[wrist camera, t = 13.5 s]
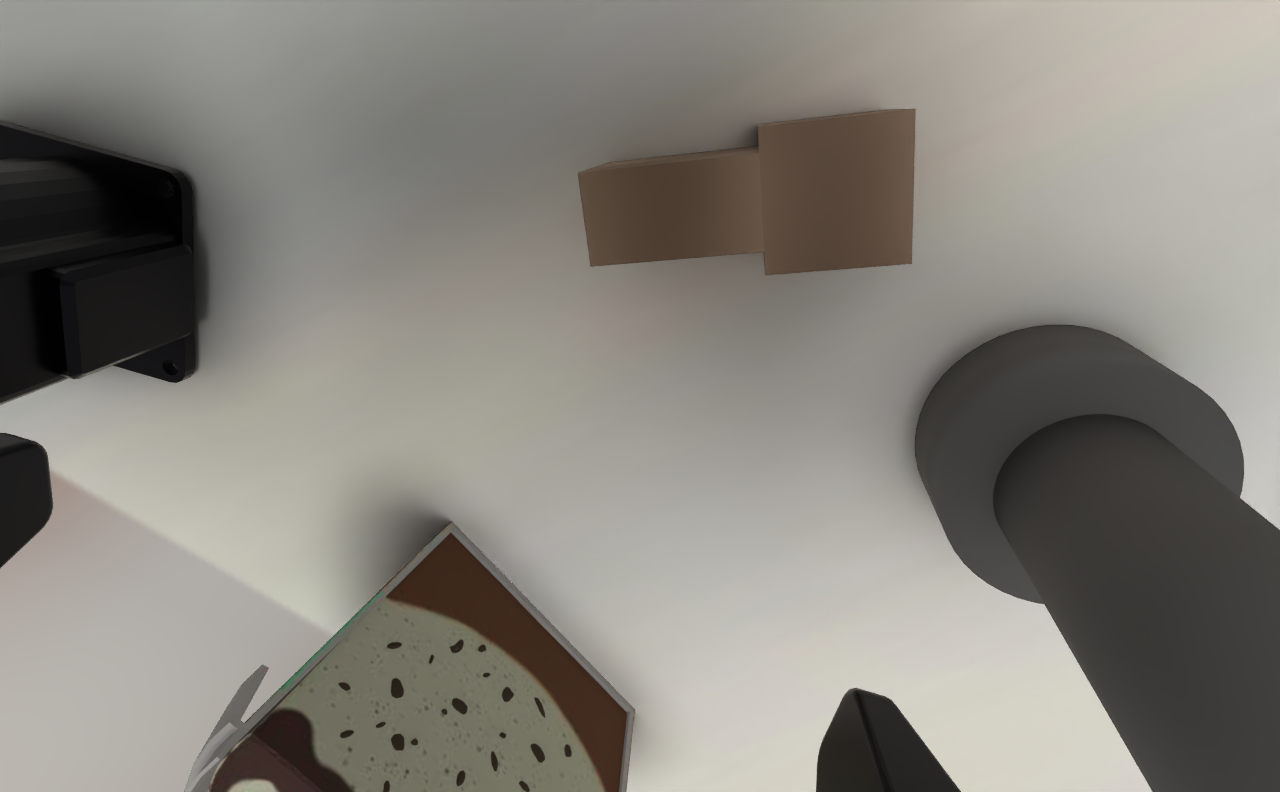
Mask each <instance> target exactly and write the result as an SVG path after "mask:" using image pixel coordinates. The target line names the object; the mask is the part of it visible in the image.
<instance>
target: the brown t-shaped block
mask: <svg viewBox="0 0 1280 792" xmlns="http://www.w3.org/2000/svg"><path fill="white" fill-rule="evenodd" d="M757 130H758V146H754V147H745V148H736V149H727V150H718V151H709V152H699V153H690V154H681V155H672V156H663V157H654V158H645V159H636V160H627V161H618V162H609V163H606V164H603V165H600V166H597V167H594V168H591V169H588V170H585V171H582V172H579V173H578V178H579V185H580V192H581V200H582V207H583V215H584V222H585V229H586V237H587V244H588V251H589V259H590V266H603V265H615V264H627V263H639V262H651V261H663V260H674V259H686V258H698V257H710V256H722V255H734V254H746V253H757V252H764V266H765V275H774V274H787V273H800V272H812V271H825V270H838V269H851V268H863V267H876V266H889V265H901V264H912V229H913V188H914V147H915V109H893V110H878V111H870V112H861V113H852V114H844V115H835V116H827V117H818V118H809V119H801V120H792V121H783V122H775V123H766V124H758V125H757Z"/></svg>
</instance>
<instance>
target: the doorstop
mask: <svg viewBox="0 0 1280 792" xmlns="http://www.w3.org/2000/svg"><path fill="white" fill-rule="evenodd" d="M915 456H916V461H917V466H918V470H919V473H920V476H921V478H922V481H923V483H924V486H925V488H926V490H927V492H928V495H929V497H930V499H931V501H932V504H933V506H934V508H935V511H936V513H937V515H938V517H939V520H940V522H941V524H942V527H943V529H944V531H945V533H946V536H947V538H948V540H949V542H950V544H951V545H952V547H953V549H954V551H955V552H956V554H957V555H958V556H959V557H960V559H961V560H962V561H963V563H964V564H965V565H966V566H967V567H968V568H969V569H970V570H971V571H972V572H973V573H974V574H976V575H977V576H978V577H980V578H981V579H982V580H984V581H985V582H986V583H988V584H990V585H991V586H993V587H995V588H997V589H999V590H1000V591H1002V592H1005V593H1007V594H1010V595H1012V596H1015V597H1017V598H1020V599H1024V600H1027V601H1031V602H1035V603H1041V604H1045V606H1046V608H1047V609H1048V611H1049V613H1050V615H1051V616H1052V618H1053V620H1054V622H1055V623H1056V625H1057V627H1058V628H1059V630H1060V632H1061V634H1062V635H1063V637H1064V639H1065V641H1066V642H1067V644H1068V646H1069V648H1070V649H1071V651H1072V653H1073V654H1074V656H1075V658H1076V660H1077V661H1078V663H1079V665H1080V667H1081V668H1082V670H1083V672H1084V674H1085V675H1086V677H1087V679H1088V680H1089V682H1090V684H1091V686H1092V687H1093V689H1094V691H1095V693H1096V694H1097V696H1098V698H1099V700H1100V701H1101V703H1102V705H1103V706H1104V708H1105V710H1106V712H1107V713H1108V715H1109V717H1110V719H1111V720H1112V722H1113V724H1114V725H1115V727H1116V729H1117V731H1118V732H1119V734H1120V736H1121V738H1122V739H1123V741H1124V743H1125V745H1126V746H1127V748H1128V750H1129V751H1130V753H1131V755H1132V757H1133V758H1134V760H1135V762H1136V764H1137V765H1138V767H1139V769H1140V771H1141V772H1142V774H1143V776H1144V777H1145V779H1146V781H1147V783H1148V784H1149V786H1150V788H1151V790H1152V791H1153V792H1280V530H1279V529H1278V528H1276V527H1275V526H1274V525H1273V524H1271V523H1270V522H1269V521H1268V520H1267V519H1265V518H1264V517H1263V516H1262V515H1260V514H1259V513H1258V512H1257V511H1255V510H1254V509H1253V508H1252V507H1250V506H1249V505H1248V504H1247V503H1245V502H1244V501H1243V500H1242V499H1240V495H1241V492H1242V485H1243V478H1244V459H1243V453H1242V449H1241V444H1240V440H1239V438H1238V436H1237V433H1236V431H1235V428H1234V426H1233V424H1232V423H1231V421H1230V420H1229V418H1228V417H1227V415H1226V413H1225V412H1224V411H1223V410H1222V409H1221V407H1220V406H1219V405H1218V404H1217V403H1216V402H1215V401H1214V400H1213V399H1212V398H1211V397H1210V396H1208V395H1207V394H1206V393H1205V392H1203V391H1202V390H1201V389H1200V388H1198V387H1197V386H1195V385H1194V384H1192V383H1190V382H1189V381H1187V380H1186V379H1184V378H1182V377H1181V376H1179V375H1178V374H1176V373H1174V372H1173V371H1171V370H1170V369H1168V368H1167V367H1165V366H1163V365H1162V364H1160V363H1159V362H1157V361H1155V360H1154V359H1152V358H1151V357H1149V356H1147V355H1146V354H1144V353H1143V352H1141V351H1139V350H1138V349H1136V348H1135V347H1133V346H1132V345H1130V344H1128V343H1126V342H1125V341H1123V340H1121V339H1119V338H1118V337H1115V336H1113V335H1110V334H1108V333H1105V332H1103V331H1099V330H1095V329H1091V328H1087V327H1080V326H1072V325H1046V326H1037V327H1031V328H1026V329H1022V330H1017V331H1014V332H1011V333H1008V334H1005V335H1002V336H999V337H997V338H995V339H993V340H991V341H989V342H987V343H985V344H982V345H981V346H979V347H978V348H976V349H974V350H973V351H971V352H970V353H968V354H967V355H965V356H964V357H963V358H962V359H960V360H959V361H958V362H957V363H955V364H954V365H953V366H952V367H951V368H950V369H949V370H948V371H947V372H946V373H945V374H944V375H943V376H942V378H941V379H940V380H939V382H938V383H937V384H936V385H935V387H934V388H933V390H932V391H931V393H930V395H929V396H928V398H927V400H926V402H925V404H924V406H923V409H922V411H921V413H920V417H919V420H918V424H917V428H916V436H915Z"/></svg>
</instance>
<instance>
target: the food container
mask: <svg viewBox="0 0 1280 792" xmlns="http://www.w3.org/2000/svg"><path fill="white" fill-rule="evenodd" d="M268 669H269V668H268V667H266V666H264V665H261V666H260V667H259V668H258V669H257V670H256V671H255V672H254V673H253V675H251V676H250V677H249V678H248V679H247V680H246V681H245V682H244V683H243V684H242V685H241V687H240V688H239V690H238V691H237V693H236V694H235V696H234V697H233V699H232V700H231V702H230V704H229V705H228V706H227V708H226V710H225V711H224V713H223V715H222V716H221V718H220V720H219V722H218V723H217V725H216V727H215V729H214V730H213V732H212V733H211V735H210V737H209V739H208V740H207V742H206V744H205V746H204V747H203V749H202V751H201V752H200V754H199V756H198V757H197V759H196V761H195V763H194V764H193V767H192V770H191V773H190V775H189V778H188V781H187V784H186V787H185V790H184V792H626V789H627V779H628V770H629V760H630V751H631V741H632V732H633V722H634V713H635V709H634V708H633V707H632V706H631V705H630V704H629V703H628V702H627V701H626V700H625V699H624V698H623V697H622V696H621V695H620V694H619V693H618V692H617V691H616V690H615V689H614V688H613V687H612V686H611V685H610V684H609V683H608V682H607V681H606V680H605V679H604V678H603V676H602V675H601V674H600V673H599V672H598V671H597V670H596V669H595V668H594V667H593V666H592V665H591V664H590V663H589V662H588V661H587V660H586V659H585V658H584V657H583V656H582V655H581V654H580V653H579V652H578V651H577V650H576V649H575V648H574V647H573V646H572V645H571V644H570V643H569V642H568V641H567V640H566V638H565V637H564V636H563V635H562V634H561V633H560V632H559V631H558V630H557V629H556V628H555V627H554V626H553V625H552V624H551V623H550V622H549V621H548V620H547V619H546V618H545V617H544V616H543V615H542V614H541V613H540V612H539V611H538V610H537V609H536V608H535V607H534V606H533V605H532V604H531V603H530V601H529V600H528V599H527V598H526V597H525V596H524V595H523V594H522V593H521V592H520V591H519V590H518V589H517V588H516V587H515V586H514V585H513V584H512V583H511V582H510V581H509V580H508V579H507V578H506V577H505V576H504V575H503V574H502V573H501V572H500V571H499V570H498V569H497V568H496V567H495V566H494V564H493V563H492V562H491V561H490V560H489V559H488V558H487V557H486V556H485V555H484V554H483V553H482V552H481V551H480V550H479V549H478V548H477V547H476V546H475V545H474V544H473V543H472V542H471V541H470V540H469V539H468V538H467V537H466V536H465V535H464V534H463V533H462V532H461V531H460V530H459V529H458V527H457V526H456V525H455V524H454V523H453V522H451V523H450V524H448V525H447V526H446V527H445V528H444V529H443V530H442V531H441V532H440V533H439V534H438V535H437V536H436V537H434V538H433V539H432V540H431V541H430V542H429V543H428V544H427V545H426V546H425V547H424V548H423V549H422V550H421V551H420V552H419V553H418V554H417V555H416V556H415V557H414V558H413V559H412V560H411V561H410V562H409V563H408V564H407V565H406V566H405V567H404V568H403V569H402V570H401V571H399V572H398V573H397V574H396V575H395V576H394V577H393V578H392V579H391V580H390V581H389V582H388V583H387V584H386V585H385V586H384V587H383V588H382V589H381V590H380V591H379V592H378V593H377V594H376V595H375V596H374V597H373V598H372V599H371V600H370V601H369V602H368V603H367V604H366V605H365V606H364V607H363V608H362V609H361V610H360V611H359V612H357V613H356V614H355V615H354V616H353V617H352V618H351V619H350V620H349V621H348V622H347V623H346V624H345V625H344V626H343V627H342V628H341V629H340V630H339V631H338V632H337V633H336V634H335V635H334V636H333V637H332V638H331V639H330V640H329V641H328V642H327V643H326V644H325V645H324V646H323V647H322V648H321V649H320V650H319V651H318V652H317V653H315V654H314V655H313V656H312V657H311V658H310V659H309V660H308V661H307V662H306V663H305V664H304V665H303V666H302V667H301V668H300V669H299V670H298V671H297V672H296V673H295V674H294V675H293V676H292V677H291V678H290V679H289V680H288V681H287V682H286V683H285V684H284V685H283V686H282V687H281V688H280V689H279V690H278V691H277V692H276V693H275V694H273V695H272V697H270V699H268V700H267V701H266V702H265V703H264V704H263V705H262V706H261V707H260V708H259V709H258V710H257V711H256V712H255V713H254V714H253V715H252V716H251V717H250V718H249V719H248V720H247V721H246V722H245V723H243V722H242V721H241V718H242V716H243V714H244V712H245V710H246V709H247V707H248V705H249V703H250V701H251V699H252V698H253V696H254V694H255V692H256V691H257V689H258V687H259V685H260V683H261V682H262V680H263V678H264V676H265V674H266V672H267V671H268Z"/></svg>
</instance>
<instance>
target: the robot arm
mask: <svg viewBox="0 0 1280 792" xmlns="http://www.w3.org/2000/svg"><path fill="white" fill-rule="evenodd" d="M168 181H169V182H170V183H171V185H172V186H173V190H174V191H173V194H171V192H170V191H169V190H168V186H167V183H168ZM172 361H173V362H174V363H175V364H176V365H177V368H178V370H177V369H176V368H175V367H174V366H173V362H172ZM112 365H113V366H117V367H120V368H124V369H127V370H130V371H134V372H137V373H141V374H144V375H148V376H151V377H154V378H158V379H161V380H165V381H168V382H174V383H177V382H180V381H182V380H184V379H187V378H189V377H191V376H192V374H193V373H194V369H195V351H194V282H193V213H192V188H191V184H190V182H189V180H188V178H187V177H186V176H185V175H184V174H183V173H182V172H180V171H178V170H176V169H173V168H170V167H166V166H162V165H159V164H155V163H152V162H148V161H144V160H141V159H137V158H133V157H130V156H126V155H123V154H119V153H115V152H112V151H108V150H104V149H101V148H97V147H94V146H90V145H86V144H83V143H79V142H75V141H72V140H68V139H65V138H61V137H57V136H54V135H50V134H46V133H43V132H39V131H36V130H32V129H28V128H25V127H21V126H17V125H14V124H10V123H7V122H3V121H0V405H1V404H4V403H6V402H9V401H11V400H14V399H17V398H19V397H22V396H24V395H27V394H29V393H32V392H35V391H37V390H40V389H42V388H45V387H48V386H50V385H53V384H55V383H58V382H61V381H63V380H66V379H68V378H72V379H79V378H82V377H84V376H87V375H89V374H92V373H94V372H97V371H99V370H102V369H105V368H107V367H110V366H112ZM52 509H53V498H52V490H51V480H50V471H49V462H48V455H47V452H46V450H45V449H44V448H43V446H42V445H40V444H39V443H37V442H35V441H31V440H28V439H25V438H21V437H18V436H15V435H11V434H7V433H0V568H1V567H2V566H3V565H4V564H5V563H6V562H7V561H8V560H10V559H11V558H12V557H13V556H14V555H15V554H16V553H17V552H18V551H19V550H20V549H21V548H22V547H23V546H24V545H26V544H27V543H28V542H29V541H30V540H31V539H32V538H33V537H34V536H35V535H36V534H37V533H38V532H39V531H40V530H41V529H42V528H43V527H44V526H45V524H46V523H47V522H48V520H49V518H50V516H51V514H52ZM816 792H961V791H960V790H959V789H958V787H957V786H956V785H955V783H954V782H953V781H952V779H951V778H950V777H949V775H948V774H947V773H946V771H945V770H944V769H943V767H942V766H941V765H940V763H939V762H938V761H937V759H936V758H935V757H934V755H933V754H932V753H931V751H930V750H929V749H928V747H927V746H926V745H925V743H924V742H923V741H922V739H921V738H920V737H919V735H918V734H917V733H916V731H915V730H914V729H913V727H912V726H911V725H910V723H909V722H908V721H907V719H906V718H905V717H904V715H903V714H902V713H901V711H900V710H899V709H898V707H897V706H896V705H895V704H894V703H893V701H892V700H890V699H889V698H887V697H885V696H882V695H879V694H875V693H872V692H869V691H865V690H862V689H859V688H853V689H850V690H848V692H847V693H846V694H845V695H844V697H843V699H842V701H841V703H840V705H839V707H838V709H837V711H836V713H835V715H834V717H833V720H832V722H831V724H830V726H829V728H828V730H827V732H826V734H825V736H824V738H823V741H822V743H821V746H820V750H819V755H818V762H817V783H816Z"/></svg>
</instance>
